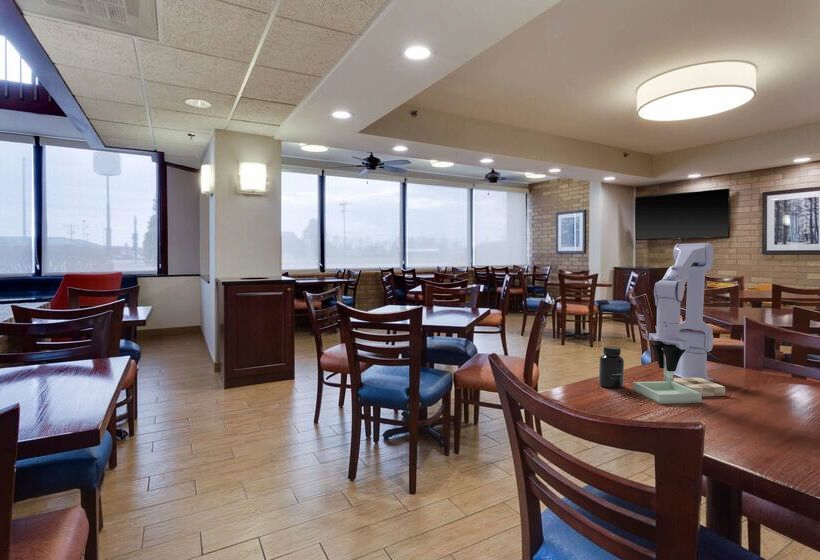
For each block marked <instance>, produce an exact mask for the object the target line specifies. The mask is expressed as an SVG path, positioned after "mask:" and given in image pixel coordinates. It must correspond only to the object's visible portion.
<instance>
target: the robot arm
mask: <svg viewBox="0 0 820 560" xmlns="http://www.w3.org/2000/svg"><path fill="white" fill-rule="evenodd" d="M672 255H673V260H674V261H675V262H674V264H673V265H671V266H670V267H668V269H667V270H666V272H665V274H664V276H663V277H662V278H661V280H658V281H656V282H655V284H654V288H653V297H654V304H655V306H656V331H655V333H650V332H649V333H648V341H655V342H651V343H650V346H651V348H652V349H653V351H654V354H655V357H656V360H657V364H658V368H659V369H664V362H663V351H664V354H665V358H666V368H667V371H674V376H676V377H677V378H696V377H700V378H702V379H705V380H708V381H711V382H712V381H714V379H713V378H711V377H708V376H707V365H708V364H707V361H708V360H707V357H708V355H707V353H708V352H710V351H712V350H713V347H714V334H713V328H712V327H711V326H710V325H709V324H707V323H706V322H705V321H704V319H703V318H704V303H705V302H704V301H705V300H704V299H705V284H706V283H705V281H706V280H705V279H706V278H705V277H706V273H707V271H709V270H711V269H713V265H714V247H713V244H712V243H711V242H703V243H701V242H697V243H676V244H675V246H674V247H673V250H672ZM686 283H687V284H686ZM685 285H686V287H685ZM685 290H686V303H685V307H686V308H685V319H684V321H682V322H681V302H682V300H683V299H684V295H685ZM661 348H663V351H662V349H661Z"/></svg>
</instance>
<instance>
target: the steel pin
mask: <svg viewBox="0 0 820 560" xmlns="http://www.w3.org/2000/svg"><path fill="white" fill-rule="evenodd" d="M661 349H662V351H663V348H661ZM663 362H664V368H663V381H665V382H674V378H675V377H674V376H675V375H674V371H667V368H666V358H665V354H664V351H663Z"/></svg>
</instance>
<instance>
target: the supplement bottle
mask: <svg viewBox="0 0 820 560" xmlns="http://www.w3.org/2000/svg"><path fill="white" fill-rule="evenodd" d="M621 349H622V348H621V347H619V346H612V345H611V346H608V345H607V346H606V345H605V346H603V351H602V352H603V354H602V355H601V356H599V367H598V368H599V372H598V374H599V375H598V376H599V377H598V383H599V386H601V387H603V386H604V387H603V388H606V387H608V388H607V389H611V388H620V389H622V388H623V387H624V378H625V377H624V373H625V371H624V370H625V360H624V358H623V357H622V356H621V354H622V353H621V352H622V350H621Z"/></svg>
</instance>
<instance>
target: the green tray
mask: <svg viewBox="0 0 820 560" xmlns="http://www.w3.org/2000/svg"><path fill="white" fill-rule="evenodd" d="M632 391H633V392H635V393H637V394H639V395H641V396H643V397H645V398H647V399H649V400H650V401H653V402H655V403H657V404H658V405H661V404H662V405H663V404H664V405H666V404H667V405H668V404H693V403H694V404H696V403H699V404H700V403H702V401H703V399H702V397H703V396H702V393H699V392H697V391H695V390H692V389H690V388H687V387H685V386H682V385H680V384H678V383H675V382H665V381H664V380H662V381H633V382H632Z"/></svg>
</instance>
